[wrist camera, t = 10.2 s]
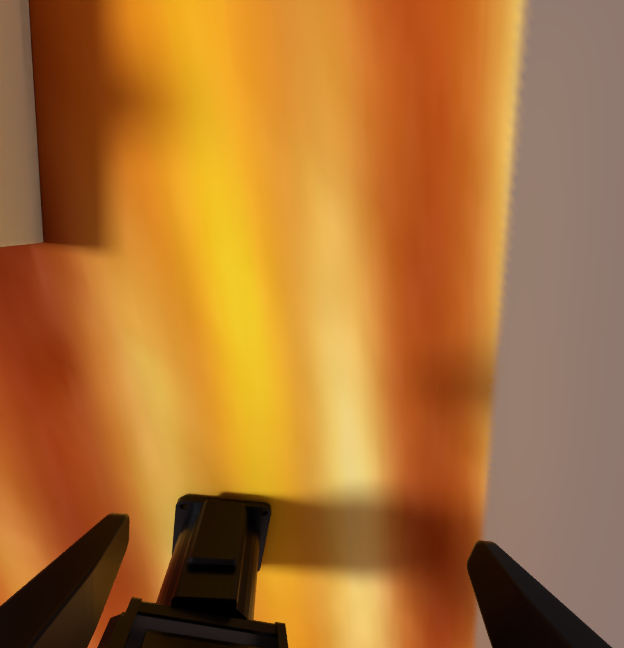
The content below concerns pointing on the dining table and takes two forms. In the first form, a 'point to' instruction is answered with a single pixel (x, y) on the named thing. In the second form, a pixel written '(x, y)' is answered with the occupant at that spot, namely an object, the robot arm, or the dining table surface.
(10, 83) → the tray
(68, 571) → the robot arm
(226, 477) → the dining table surface
